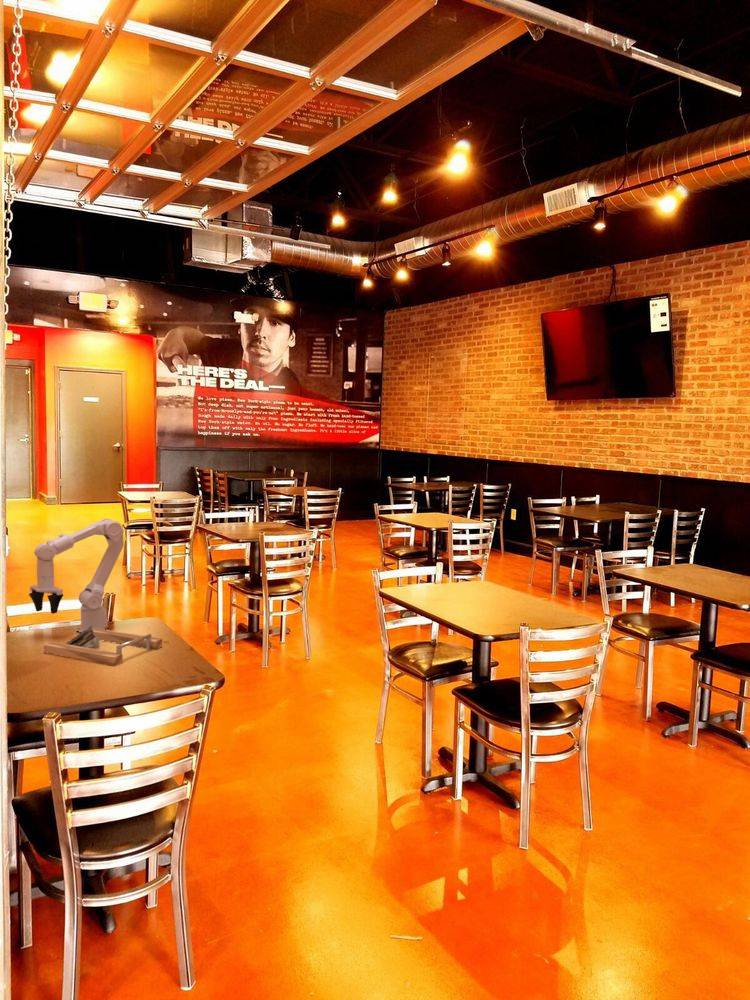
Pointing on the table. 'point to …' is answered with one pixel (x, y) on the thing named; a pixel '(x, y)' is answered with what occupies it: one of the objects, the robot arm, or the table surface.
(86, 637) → the chocolate cake
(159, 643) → the shelf board
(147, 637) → the hook bar
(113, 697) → the table surface
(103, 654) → the shelf board
